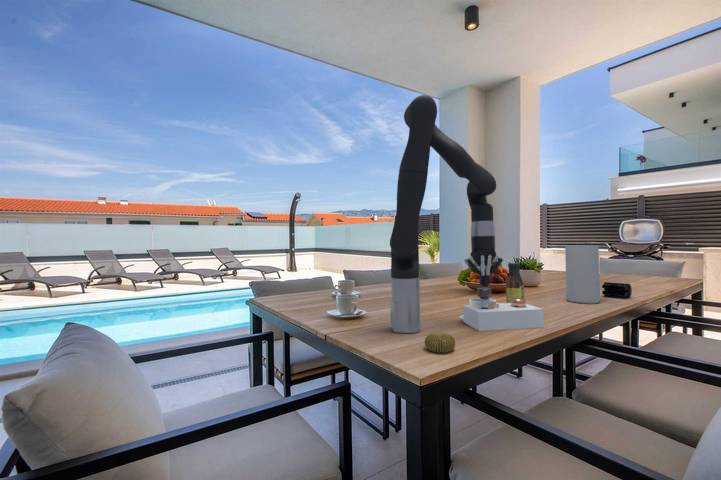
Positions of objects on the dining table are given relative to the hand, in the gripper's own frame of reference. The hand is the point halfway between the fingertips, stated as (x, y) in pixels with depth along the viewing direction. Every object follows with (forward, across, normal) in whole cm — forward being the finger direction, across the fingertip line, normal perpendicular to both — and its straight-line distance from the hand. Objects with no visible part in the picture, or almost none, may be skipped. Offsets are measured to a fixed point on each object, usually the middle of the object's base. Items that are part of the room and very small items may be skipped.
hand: (484, 286), depth 114 cm
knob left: (+9, 0, 0) cm, 9 cm away
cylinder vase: (+14, +61, +31) cm, 70 cm away
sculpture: (+14, -23, -21) cm, 34 cm away
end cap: (+14, +83, +37) cm, 92 cm away
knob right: (+13, +12, 0) cm, 18 cm away
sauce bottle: (+14, +18, +12) cm, 25 cm away
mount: (+13, +6, 0) cm, 15 cm away
